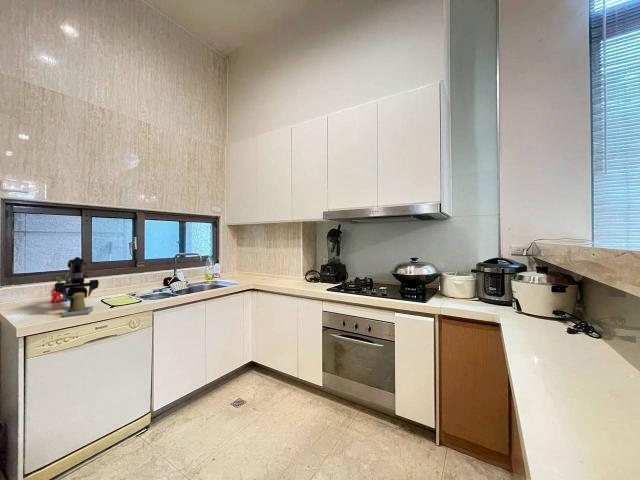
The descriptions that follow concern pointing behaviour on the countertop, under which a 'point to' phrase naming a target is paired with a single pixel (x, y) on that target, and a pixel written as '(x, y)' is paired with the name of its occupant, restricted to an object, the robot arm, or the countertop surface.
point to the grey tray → (77, 312)
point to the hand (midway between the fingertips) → (78, 297)
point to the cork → (78, 302)
